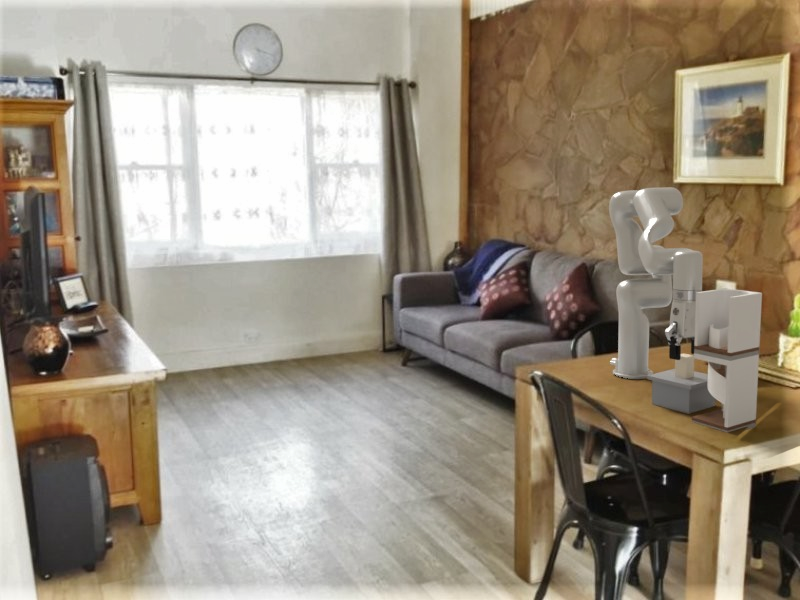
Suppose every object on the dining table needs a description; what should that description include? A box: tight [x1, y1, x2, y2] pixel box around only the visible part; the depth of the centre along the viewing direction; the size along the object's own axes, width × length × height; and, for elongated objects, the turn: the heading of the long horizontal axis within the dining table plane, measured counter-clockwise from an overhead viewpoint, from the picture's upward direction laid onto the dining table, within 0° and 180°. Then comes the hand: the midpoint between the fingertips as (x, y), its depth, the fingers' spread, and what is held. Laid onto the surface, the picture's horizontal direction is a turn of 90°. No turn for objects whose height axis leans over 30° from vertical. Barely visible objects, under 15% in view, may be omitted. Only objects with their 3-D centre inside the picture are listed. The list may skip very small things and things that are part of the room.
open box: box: [651, 380, 717, 415], centre depth 214 cm, size 12×12×8 cm
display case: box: [691, 287, 763, 433], centre depth 196 cm, size 11×11×35 cm
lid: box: [646, 353, 708, 389], centre depth 213 cm, size 14×14×8 cm
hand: (685, 356), depth 212 cm, fingers open, 9 cm apart
